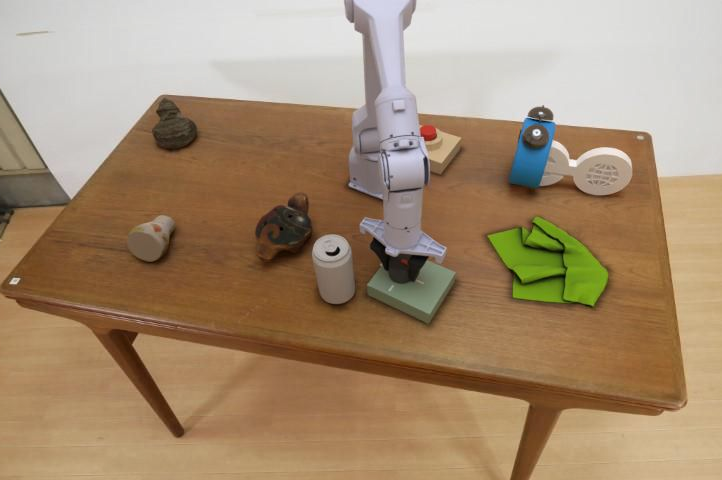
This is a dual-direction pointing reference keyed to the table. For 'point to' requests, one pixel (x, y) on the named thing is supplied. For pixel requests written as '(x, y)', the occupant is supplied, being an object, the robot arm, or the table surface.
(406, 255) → the dial
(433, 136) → the button
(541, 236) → the cloth
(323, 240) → the beverage can
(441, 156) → the button housing
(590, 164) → the white double disc plate
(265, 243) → the decorative turtle
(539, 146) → the alarm clock
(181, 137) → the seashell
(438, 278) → the dial panel
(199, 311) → the table surface
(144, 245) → the beige ceramic vase
